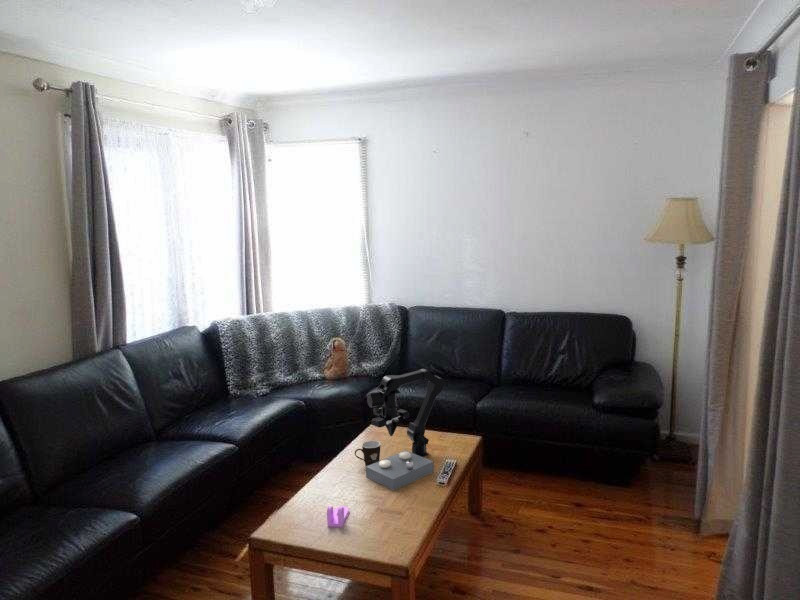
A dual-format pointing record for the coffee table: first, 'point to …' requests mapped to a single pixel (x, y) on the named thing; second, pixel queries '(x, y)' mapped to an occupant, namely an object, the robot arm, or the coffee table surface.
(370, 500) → the coffee table surface
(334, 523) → the bracket
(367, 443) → the coffee mug
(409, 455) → the knob
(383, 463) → the knob
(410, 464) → the potentiometer
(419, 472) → the console block
